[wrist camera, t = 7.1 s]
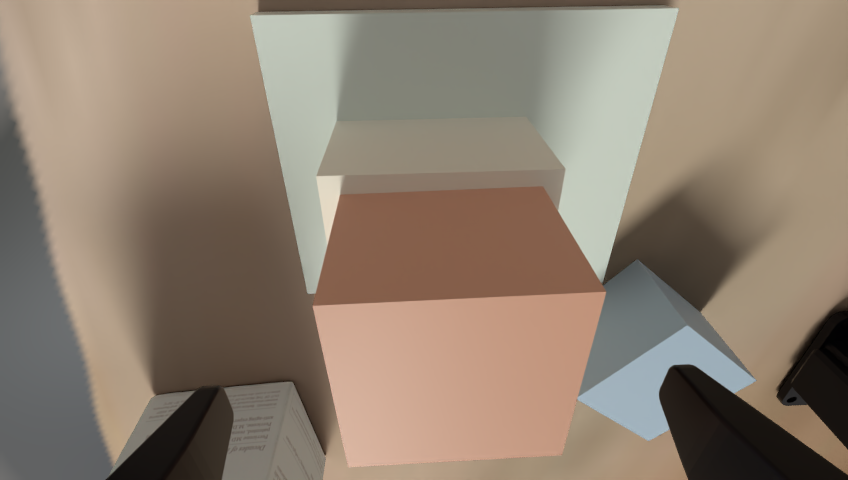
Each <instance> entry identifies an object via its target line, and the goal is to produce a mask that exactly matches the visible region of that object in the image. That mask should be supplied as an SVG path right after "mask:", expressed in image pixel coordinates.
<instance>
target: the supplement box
mask: <svg viewBox="0 0 848 480" xmlns="http://www.w3.org/2000/svg"><path fill="white" fill-rule="evenodd" d="M224 390H225V392H226V394H227V397H228V399H229V401H230V404H231V406H232V409H233V413H234V421H233V427H232V432H231V437H230V441H229V446H228V451H227V456H226V461H225V466H224V471H223V476H222V480H323V473H324V466H325V460H326V458H325V455H324V453H323V450H322V448H321V446H320V443H319V441H318V439H317V436H316V434H315V432H314V430H313V427H312V425H311V423H310V420H309V418H308V416H307V413H306V411H305V409H304V407H303V404H302V402H301V400H300V397H299V395H298V393H297V390H296V388H295V386H294V384H293V382H278V383H266V384H257V385H247V386H235V387H228V388H224ZM194 392H195V391H188V392H177V393H168V394H162V395H156V396H154V397H152V398H151V400H150V401H149V403H148V405H147V407H146V408H145V410H144V412H143V414H142V416H141V418H140V420H139V421H138V423H137V425H136V427H135V429H134V431H133V432H132V434H131V436H130V438H129V439H128V441H127V443H126V445H125V447H124V449H123V450H122V452H121V454H120V456H119V458H118V460H117V461H116V463H115V465H114V467H113V469H112V471H111V473H110V475H111V474H112V473H113V472H114V471H115V470H116V469H117V468H118V467H119V466H120V465H121V464H122V463H123V462H124V461H125V460H126V459H127V458H128V457H129V456H130V455H131V454H132V453H133V452H134V451H135V450H136V449H137V448H138V447H139V446H140V445H141V444H142V443H143V442H144V441H145V440H146V439H147V438H148V437H149V436H150V435H151V434H152V433H153V432H154V431H155V430H156V429H157V428H158V427H159V426H160V425H161V424H162V423H163V422H164V421H165V420H166V419H167V418H168V417H169V416H170V415H171V414H172V413H173V412H174V411H175V410H176V409H177V408H178V407H179V406H181V405H182V404H183V403H184V402H185V401H186V400H187V399H188V398H189V397H190V396H191V395H192V394H193V393H194ZM110 475H109V476H110Z"/></svg>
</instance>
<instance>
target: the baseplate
mask: <svg viewBox="0 0 848 480" xmlns="http://www.w3.org/2000/svg"><path fill="white" fill-rule="evenodd" d="M678 10H679V8H676V7H671V6H666V5H646V6H586V7H525V8H464V9H404V10H343V11H282V12H256V13H254V14H252V15H250V18H251V23H252V28H253V33H254V37H255V42H256V47H257V52H258V57H259V62H260V67H261V71H262V76H263V81H264V86H265V91H266V96H267V100H268V105H269V110H270V115H271V120H272V125H273V129H274V134H275V139H276V144H277V149H278V154H279V158H280V163H281V168H282V173H283V178H284V183H285V187H286V192H287V197H288V202H289V207H290V212H291V216H292V221H293V226H294V231H295V236H296V241H297V245H298V250H299V255H300V260H301V265H302V270H303V274H304V279H305V284H306V289H307V294H316V290H317V286H318V282H319V278H320V274H321V269H322V265H323V261H324V257H325V253H326V249H327V241H326V235H325V229H324V223H323V216H322V210H321V204H320V198H319V191H318V185H317V179H316V175H317V172H318V170H319V167H320V164H321V162H322V159H323V156H324V154H325V151H326V148H327V145H328V143H329V140H330V137H331V135H332V132H333V129H334V127H335V124H336V121H364V120H405V119H445V118H486V117H527V118H528V120H529V121H530V122H531V124H532V125H533V126H534V128H535V129H536V130H537V132H538V133H539V134H540V136H541V137H542V138H543V140H544V141H545V142H546V144H547V145H548V146H549V147H550V149H551V150H552V151H553V153H554V154H555V155H556V157H557V158H558V159H559V161H560V162H561V163H562V165H563V166H564V167H565V169H566V171H565V176H564V182H563V187H562V193H561V198H560V203H559V209H558V212H559V214H560V215H561V217H562V219H563V220H564V222H565V224H566V225H567V227H568V229H569V230H570V232H571V234H572V235H573V237H574V239H575V240H576V242H577V244H578V245H579V247H580V249H581V250H582V252H583V254H584V255H585V257H586V259H587V260H588V262H589V264H590V265H591V267H592V269H593V270H594V272H595V274H596V275H597V277H598V279H599V280H600V282H601V283H603V280H604V276H605V272H606V269H607V265H608V262H609V258H610V254H611V251H612V247H613V244H614V240H615V236H616V233H617V229H618V226H619V222H620V219H621V215H622V211H623V208H624V204H625V201H626V197H627V193H628V190H629V186H630V183H631V179H632V175H633V172H634V168H635V165H636V161H637V157H638V154H639V150H640V147H641V143H642V140H643V136H644V132H645V129H646V125H647V122H648V118H649V114H650V111H651V107H652V104H653V100H654V96H655V93H656V89H657V86H658V82H659V79H660V75H661V71H662V68H663V64H664V61H665V57H666V53H667V50H668V46H669V43H670V39H671V35H672V32H673V28H674V25H675V21H676V17H677V14H678Z"/></svg>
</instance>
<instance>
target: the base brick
mask: <svg viewBox="0 0 848 480" xmlns="http://www.w3.org/2000/svg"><path fill="white" fill-rule="evenodd" d="M565 171H566V169H565V167H564V166H563V165H562V163H561V162H560V161H559V159H558V158H557V157H556V155H555V154H554V153H553V151H552V150H551V149H550V147H549V146H548V145H547V144H546V142H545V141H544V140H543V138H542V137H541V136H540V134H539V133H538V132H537V130H536V129H535V128H534V126H533V125H532V124H531V122H530V121H529V120H528V118H527V117H486V118H445V119H405V120H364V121H336V124H335V127H334V129H333V132H332V135H331V137H330V140H329V143H328V145H327V148H326V151H325V154H324V156H323V159H322V162H321V164H320V167H319V170H318V172H317V175H316V179H317V185H318V191H319V198H320V204H321V210H322V216H323V223H324V229H325V235H326V241H327V245H328V241H329V237H330V233H331V229H332V225H333V221H334V217H335V213H336V209H337V205H338V201H339V196H340V195H345V194H369V193H393V192H417V191H441V190H465V189H489V188H513V187H537V186H543V187H544V189H545V190H546V192H547V194H548V195H549V197H550V199H551V200H552V202H553V204H554V205H555V207H556V209H557V210H558V209H559V203H560V198H561V193H562V187H563V182H564V176H565Z"/></svg>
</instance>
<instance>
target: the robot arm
mask: <svg viewBox="0 0 848 480" xmlns="http://www.w3.org/2000/svg"><path fill="white" fill-rule="evenodd" d="M777 398H778V399H779V401H780V402H781V403H782V404H783V405H786V406H790V405H809V407H810V408H811V409H812V410H813V411H814V412H815V413H816V414H817V416H818V417H819V418H820V419H821V420H822V421H823V422H824V423H825V424H826V426H827V427H828V428H829V429H830V430H831V431H832V432H833V433H834V435H835V436H836V437H837V438H838V439H839V440H840V441H841V442H842V443H843V445H844V446H845V447H846V448H847V449H848V311H843V312H839V313H836V314H834V315H833V316H831V317H830V319H829V320H828V321H827V323H826V324H825V325H824V327H823V328H822V330H821V331H820V333H819V334H818V336H817V337H816V339H815V340H814V341H813V343H812V344H811V346H810V347H809V349H808V350H807V352H806V353H805V354H804V356H803V357H802V359H801V360H800V362H799V363H798V365H797V366H796V368H795V369H794V370H793V372H792V373H791V375H790V376H789V378H788V379H787V381H786V382H785V384H784V385H783V386H782V388H781V389H780V391H779V392H778V394H777ZM659 400H660V404H661V406H662V409H663V412H664V415H665V417H666V420H667V423H668V426H669V429H670V431H671V434H672V437H673V440H674V443H675V445H676V448H677V451H678V454H679V456H680V459H681V462H682V465H683V467H684V470H685V472H686V475H687V477H688V480H848V475H847V474H846V473H844V472H843V471H841V470H840V469H839V468H837V467H836V466H834V465H833V464H832V463H830V462H829V461H827V460H826V459H825V458H823V457H822V456H820V455H819V454H818V453H816V452H815V451H813V450H812V449H811V448H809V447H808V446H806V445H805V444H804V443H802V442H801V441H799V440H798V439H797V438H795V437H794V436H793V435H791V434H790V433H788V432H787V431H786V430H784V429H783V428H781V427H780V426H779V425H777V424H776V423H774V422H773V421H772V420H770V419H769V418H767V417H766V416H765V415H763V414H762V413H760V412H759V411H758V410H756V409H755V408H753V407H752V406H751V405H749V404H748V403H747V402H745V401H744V400H742V399H741V398H740V397H738V396H737V395H735V394H734V393H733V392H731V391H730V390H728V389H727V388H726V387H724V386H723V385H721V384H720V383H719V382H717V381H716V380H714V379H713V378H712V377H710V376H709V375H707V374H706V373H705V372H703V371H702V370H700V369H699V368H698V367H696V366H694V365H691V364H682V365H672V366H671V367H670V368H669V369H668V371H667V374H666V376H665V378H664V380H663V383H662V385H661V387H660V390H659ZM233 421H234V413H233V409H232V406H231V404H230V401H229V399H228V397H227V394H226V392H225V390H224V388H223V387H222V386H203V387H200V388H198V389H197V390H196V391H195V392H194V393H193V394H192V395H191V396H190V397H189V398H188V399H187V400H186V401H185V402H184V403H183V404H182V405H181V406H179V407H178V408H177V409H176V410H175V411H174V412H173V413H172V414H171V415H170V416H169V417H168V418H167V419H166V420H165V421H164V422H163V423H162V424H161V425H160V426H159V427H158V428H157V429H156V430H155V431H154V432H153V433H152V434H151V435H150V436H149V437H148V438H147V439H146V440H145V441H144V442H143V443H142V444H141V445H140V446H139V447H138V448H137V449H136V450H135V451H134V452H133V453H132V454H131V455H130V456H129V457H128V458H127V459H126V460H125V461H124V462H123V463H122V464H121V465H120V466H119V467H118V468H117V469H116V470H115V471H114V472H113V473H112V474H111V475H110V476H109V477H108V478H107V479H106V480H222V476H223V471H224V466H225V461H226V456H227V451H228V446H229V441H230V437H231V432H232V427H233Z"/></svg>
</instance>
